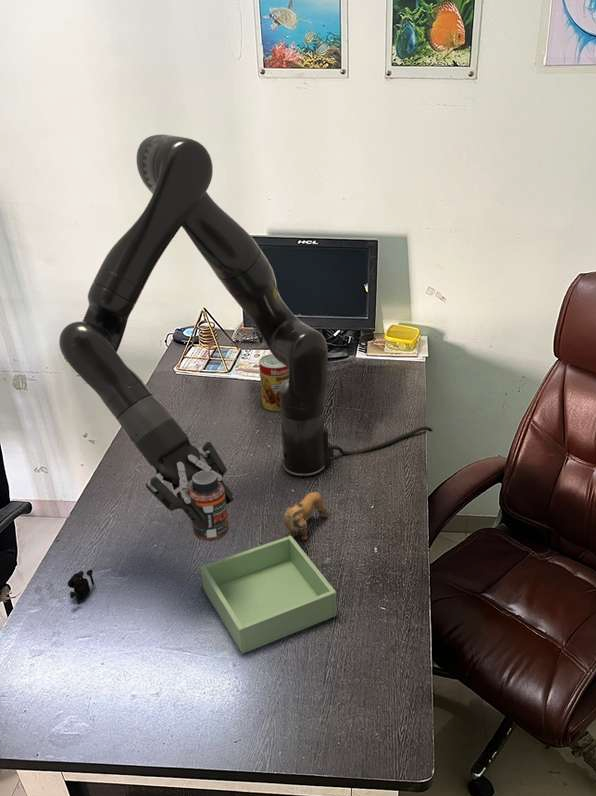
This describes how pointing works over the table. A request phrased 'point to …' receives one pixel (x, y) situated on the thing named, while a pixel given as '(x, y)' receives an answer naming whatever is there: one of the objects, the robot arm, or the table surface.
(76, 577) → the black animal figurine
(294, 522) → the lion figurine
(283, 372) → the canned food
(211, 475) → the supplement bottle
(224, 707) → the table surface
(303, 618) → the desk bin
